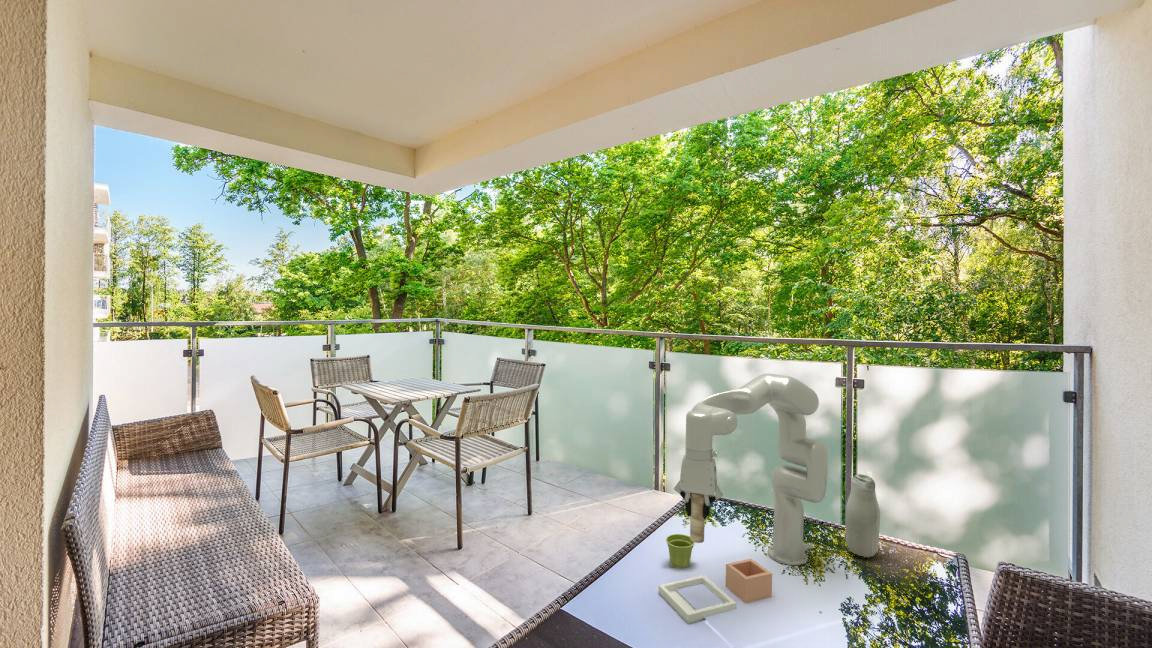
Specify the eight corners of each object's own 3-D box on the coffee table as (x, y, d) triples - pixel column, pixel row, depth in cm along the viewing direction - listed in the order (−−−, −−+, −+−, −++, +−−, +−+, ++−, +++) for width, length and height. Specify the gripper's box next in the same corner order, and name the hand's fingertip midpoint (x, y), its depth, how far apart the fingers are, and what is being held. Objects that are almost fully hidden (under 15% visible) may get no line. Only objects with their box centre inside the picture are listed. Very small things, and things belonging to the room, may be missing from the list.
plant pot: (694, 574, 172) (695, 548, 171) (665, 571, 173) (665, 545, 173) (694, 560, 181) (694, 535, 180) (666, 557, 183) (666, 532, 182)
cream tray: (703, 583, 166) (703, 575, 166) (736, 611, 151) (736, 603, 151) (658, 593, 160) (658, 585, 160) (688, 624, 146) (688, 615, 145)
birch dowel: (698, 535, 157) (699, 489, 157) (706, 541, 154) (707, 494, 153) (687, 537, 156) (688, 491, 155) (695, 543, 152) (696, 495, 151)
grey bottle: (883, 556, 184) (886, 476, 182) (867, 564, 178) (870, 482, 176) (854, 545, 192) (857, 469, 190) (839, 553, 186) (841, 474, 184)
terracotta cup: (750, 583, 166) (751, 558, 166) (771, 599, 157) (772, 573, 157) (725, 589, 163) (725, 563, 162) (745, 606, 154) (746, 579, 154)
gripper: (730, 454, 153) (729, 516, 154) (673, 447, 160) (672, 506, 161) (726, 461, 147) (725, 526, 148) (666, 453, 153) (666, 515, 154)
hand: (697, 515), depth 154 cm, fingers closed on birch dowel, 4 cm apart
